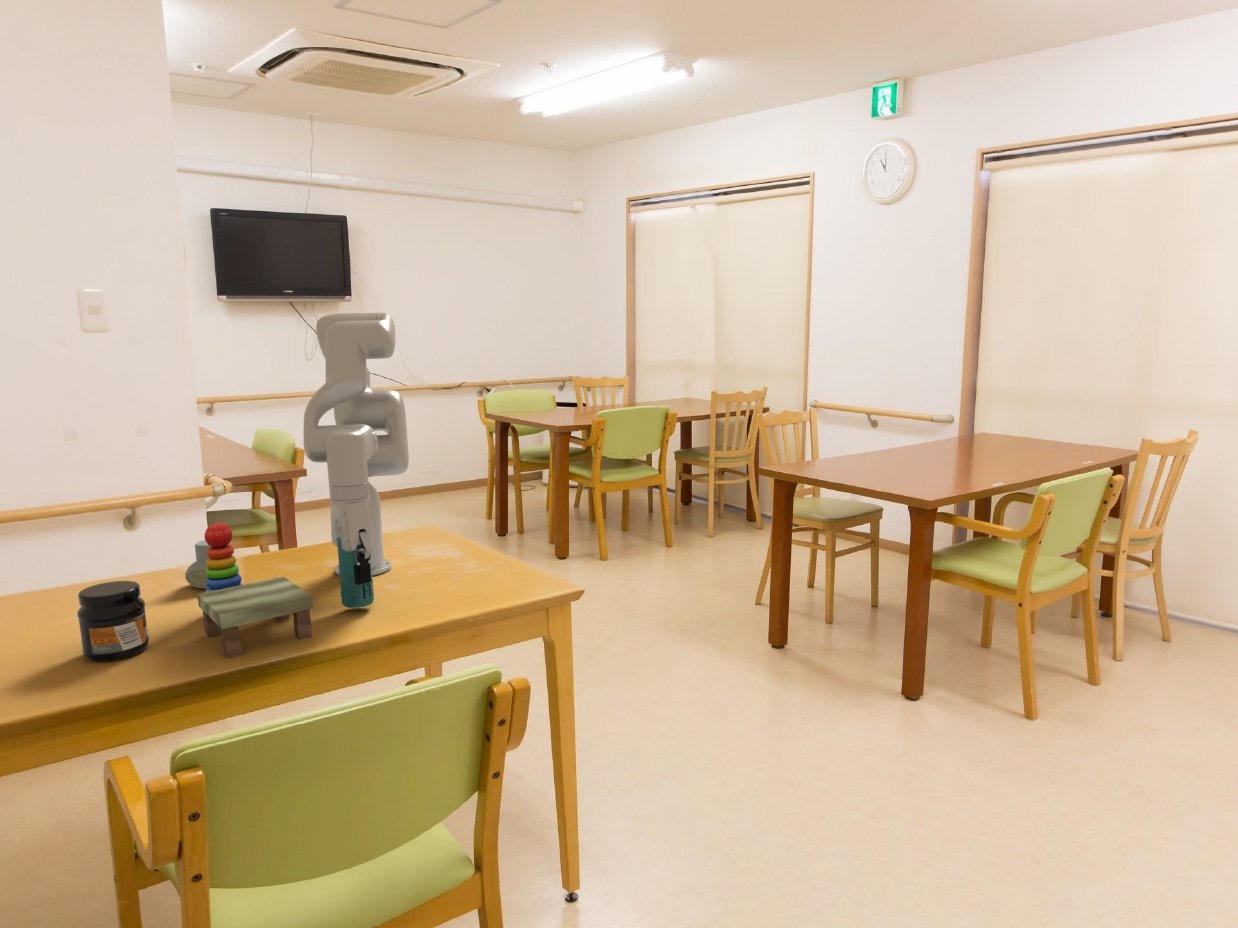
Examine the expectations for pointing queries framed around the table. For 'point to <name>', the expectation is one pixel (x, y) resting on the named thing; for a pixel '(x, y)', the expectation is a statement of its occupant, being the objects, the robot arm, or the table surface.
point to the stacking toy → (220, 559)
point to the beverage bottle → (352, 581)
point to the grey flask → (199, 566)
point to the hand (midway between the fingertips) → (356, 578)
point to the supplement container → (112, 621)
